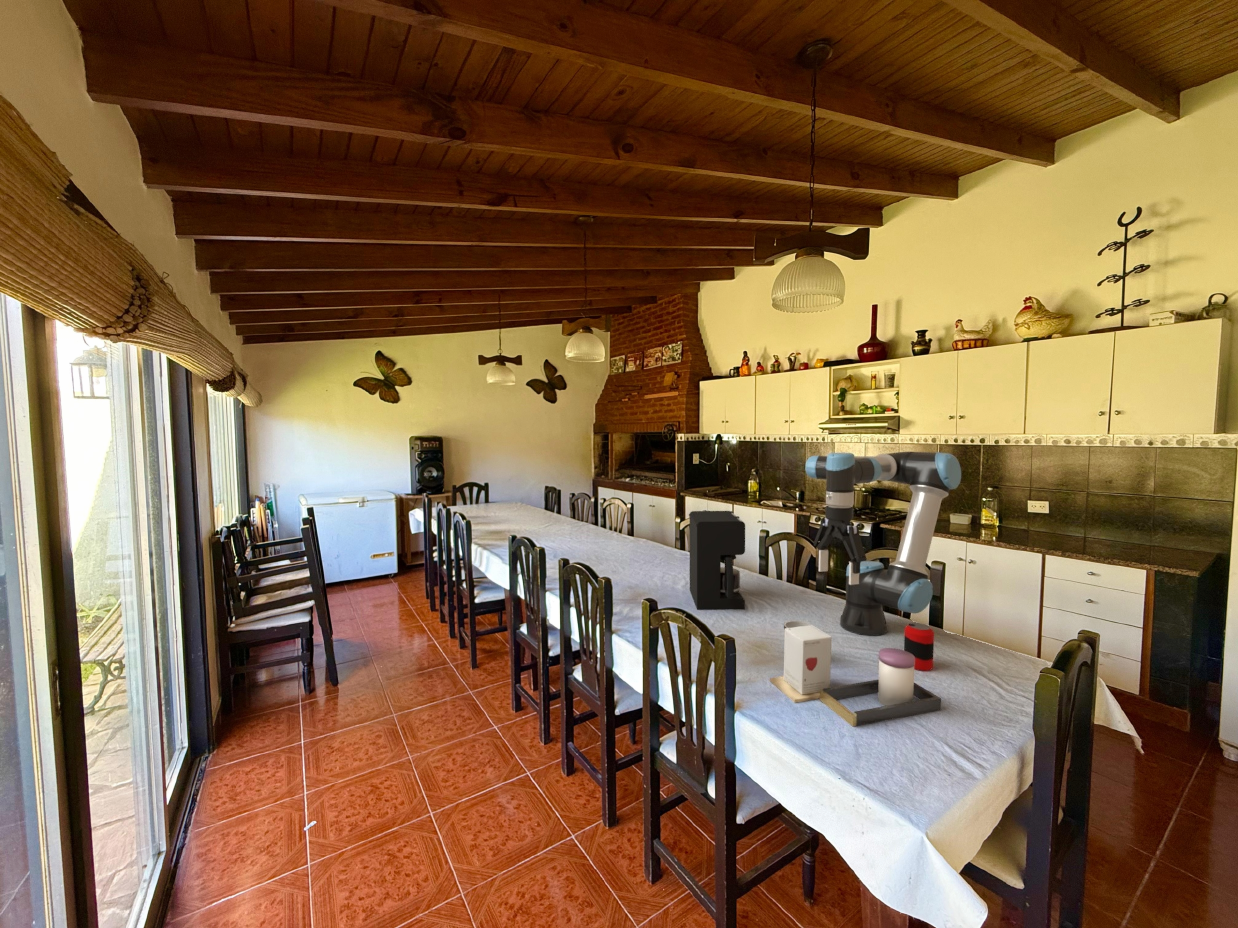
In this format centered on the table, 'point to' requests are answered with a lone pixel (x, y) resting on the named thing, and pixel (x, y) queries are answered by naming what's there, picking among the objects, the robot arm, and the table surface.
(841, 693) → the grey tray
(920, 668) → the soda can
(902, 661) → the cream lidded canister
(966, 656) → the table surface
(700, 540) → the coffee maker
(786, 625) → the coffee mug
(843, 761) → the table surface
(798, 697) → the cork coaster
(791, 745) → the table surface
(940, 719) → the table surface
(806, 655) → the supplement box
